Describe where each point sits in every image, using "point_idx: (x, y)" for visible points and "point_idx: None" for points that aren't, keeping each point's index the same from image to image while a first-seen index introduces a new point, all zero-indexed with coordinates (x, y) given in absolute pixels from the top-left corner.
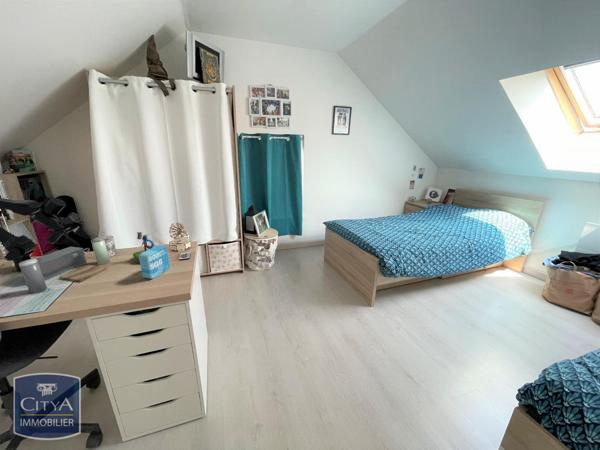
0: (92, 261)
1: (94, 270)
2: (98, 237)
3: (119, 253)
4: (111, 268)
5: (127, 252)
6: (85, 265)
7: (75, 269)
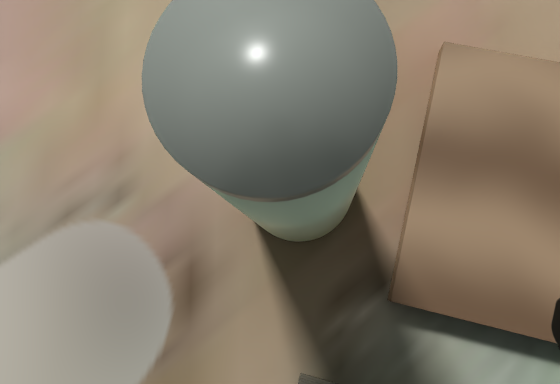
0: (267, 336)
1: (517, 109)
2: (161, 121)
3: (70, 184)
4: (416, 24)
5: (50, 118)
6: (414, 296)
7: (518, 331)
